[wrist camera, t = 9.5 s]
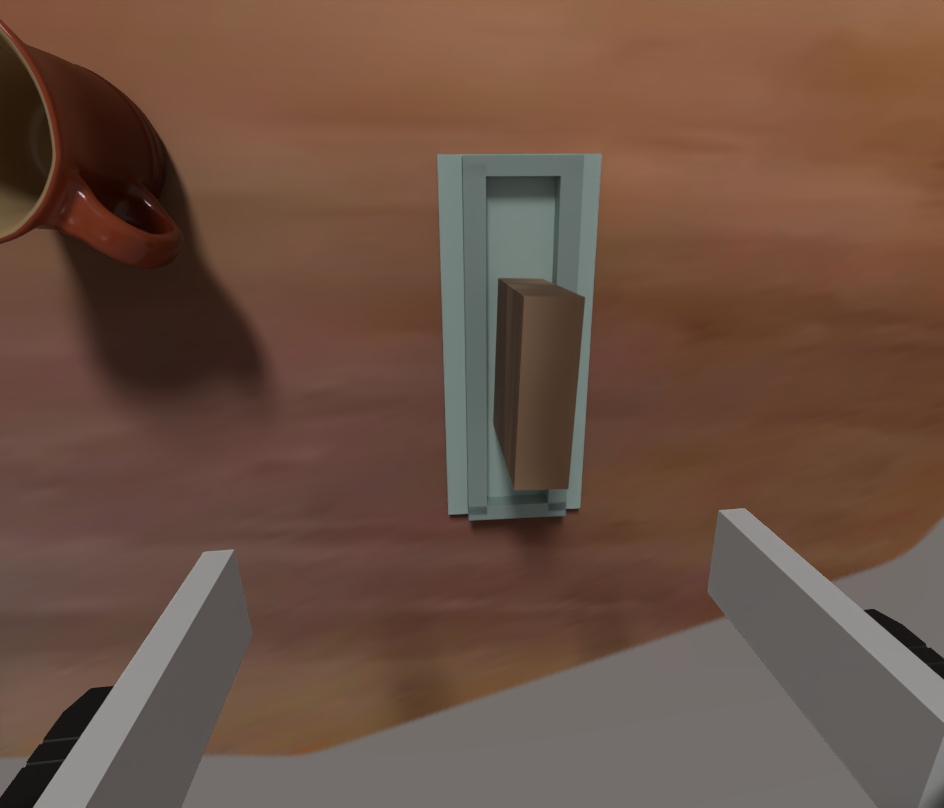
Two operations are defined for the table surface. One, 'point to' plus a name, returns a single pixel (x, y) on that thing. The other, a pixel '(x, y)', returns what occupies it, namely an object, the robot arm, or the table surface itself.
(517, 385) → the slider block
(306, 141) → the table surface
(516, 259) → the track base
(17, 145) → the mug
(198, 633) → the robot arm
